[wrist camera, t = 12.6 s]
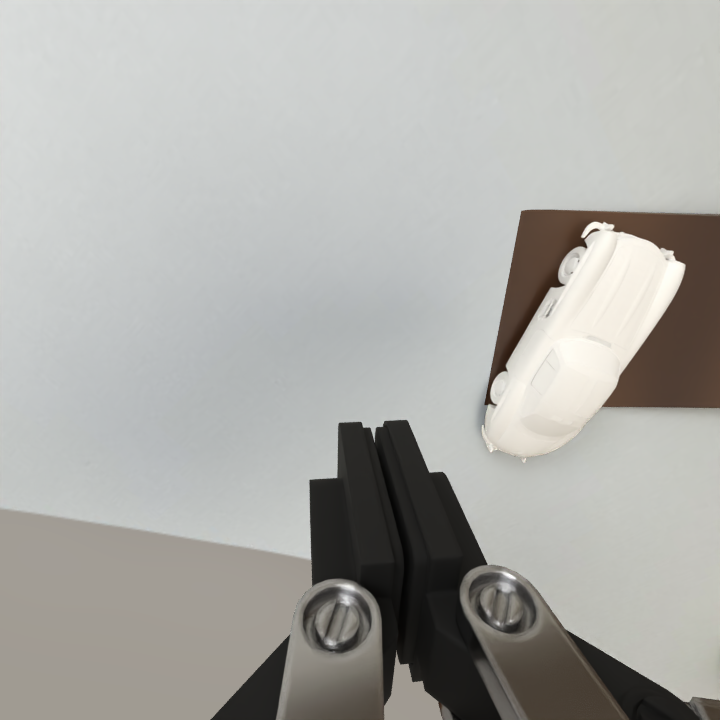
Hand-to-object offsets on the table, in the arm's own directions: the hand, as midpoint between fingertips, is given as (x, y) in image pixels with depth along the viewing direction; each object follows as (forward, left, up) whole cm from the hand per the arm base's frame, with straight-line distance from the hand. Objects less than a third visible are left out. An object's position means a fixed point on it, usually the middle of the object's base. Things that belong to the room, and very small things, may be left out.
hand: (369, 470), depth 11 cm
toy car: (+11, -1, -10) cm, 15 cm away
